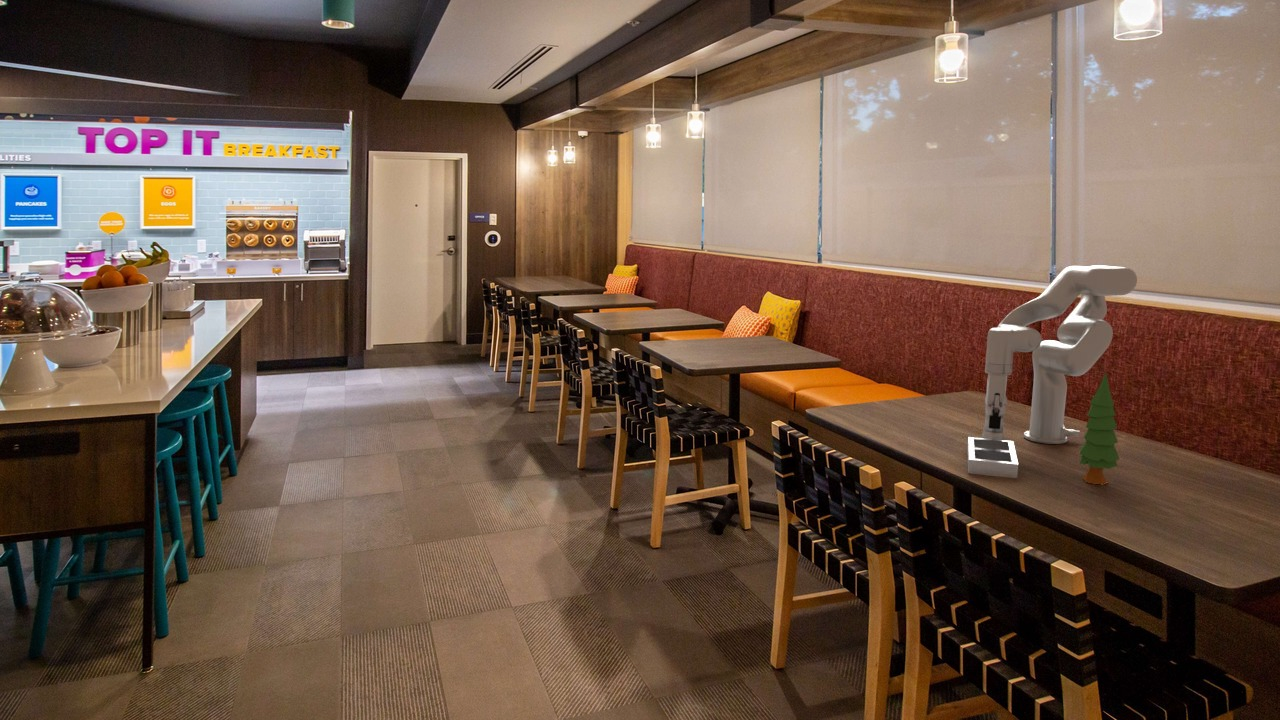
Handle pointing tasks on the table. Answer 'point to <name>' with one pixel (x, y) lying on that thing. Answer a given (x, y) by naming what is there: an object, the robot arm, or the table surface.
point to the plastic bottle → (987, 431)
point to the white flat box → (992, 457)
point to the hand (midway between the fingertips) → (993, 425)
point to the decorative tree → (1100, 436)
